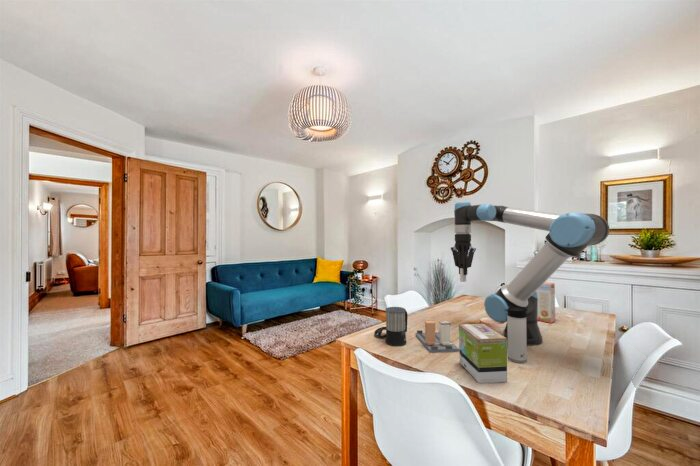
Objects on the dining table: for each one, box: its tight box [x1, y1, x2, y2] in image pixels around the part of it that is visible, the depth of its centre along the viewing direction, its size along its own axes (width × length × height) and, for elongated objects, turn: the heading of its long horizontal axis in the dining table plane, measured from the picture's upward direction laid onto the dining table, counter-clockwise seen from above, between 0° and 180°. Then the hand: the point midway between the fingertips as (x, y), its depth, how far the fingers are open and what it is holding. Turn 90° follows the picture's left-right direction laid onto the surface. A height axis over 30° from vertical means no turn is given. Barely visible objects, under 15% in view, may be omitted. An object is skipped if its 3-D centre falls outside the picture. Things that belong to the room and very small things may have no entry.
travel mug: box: [506, 307, 528, 364], centre depth 111 cm, size 6×7×20 cm
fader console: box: [415, 320, 459, 354], centre depth 128 cm, size 20×12×11 cm, turn 4°
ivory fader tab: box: [438, 320, 451, 345], centre depth 123 cm, size 3×4×9 cm
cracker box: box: [536, 281, 556, 324], centre depth 161 cm, size 14×6×21 cm, turn 35°
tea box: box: [458, 323, 508, 384], centre depth 101 cm, size 15×10×15 cm
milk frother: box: [374, 306, 408, 347], centre depth 133 cm, size 14×16×15 cm
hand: (463, 281), depth 144 cm, fingers closed
